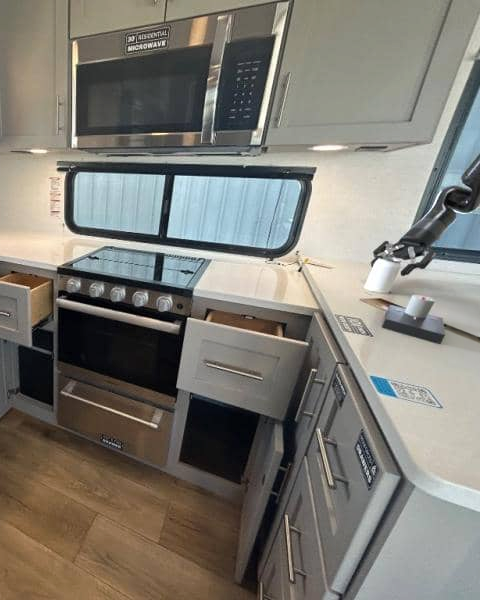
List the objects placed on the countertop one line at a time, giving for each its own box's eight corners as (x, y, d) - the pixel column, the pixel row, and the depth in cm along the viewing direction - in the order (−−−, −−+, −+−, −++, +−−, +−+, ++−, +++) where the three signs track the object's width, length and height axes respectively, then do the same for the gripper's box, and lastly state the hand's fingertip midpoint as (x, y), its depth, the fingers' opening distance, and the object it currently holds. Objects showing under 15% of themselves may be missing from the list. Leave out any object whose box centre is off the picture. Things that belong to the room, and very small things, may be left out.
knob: (405, 309, 92) (414, 292, 90) (427, 315, 89) (436, 297, 87) (403, 313, 90) (412, 295, 88) (425, 319, 87) (434, 301, 84)
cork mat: (389, 299, 107) (390, 298, 107) (431, 315, 96) (432, 314, 96) (359, 300, 105) (360, 298, 105) (398, 316, 94) (399, 314, 94)
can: (383, 298, 108) (400, 263, 103) (359, 292, 112) (374, 258, 108) (389, 295, 111) (405, 261, 107) (365, 288, 116) (380, 256, 111)
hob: (386, 312, 97) (390, 303, 96) (438, 325, 90) (443, 317, 89) (381, 327, 87) (385, 318, 85) (440, 344, 80) (445, 334, 79)
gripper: (395, 223, 113) (361, 256, 113) (450, 231, 100) (411, 269, 101) (398, 238, 116) (364, 270, 117) (451, 248, 104) (413, 284, 105)
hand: (386, 270), depth 109 cm, fingers open, 8 cm apart
